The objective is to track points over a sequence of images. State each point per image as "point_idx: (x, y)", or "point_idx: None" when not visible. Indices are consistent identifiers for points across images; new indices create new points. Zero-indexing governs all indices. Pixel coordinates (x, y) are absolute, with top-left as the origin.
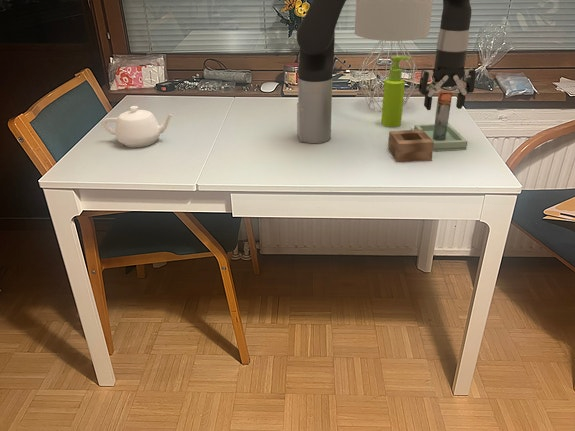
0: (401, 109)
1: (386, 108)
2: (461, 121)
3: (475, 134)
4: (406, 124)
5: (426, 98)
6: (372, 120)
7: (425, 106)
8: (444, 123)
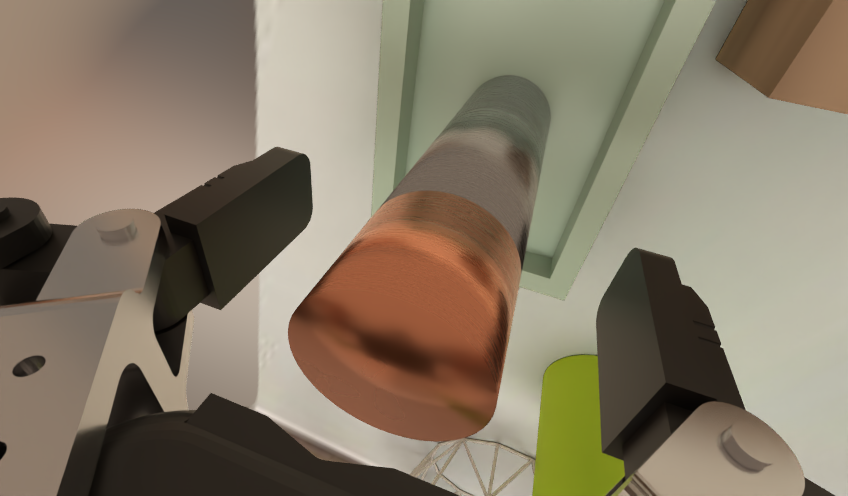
0: (565, 432)
1: None
2: (287, 272)
3: (272, 125)
4: (527, 351)
5: (743, 404)
6: None
7: (697, 309)
8: (490, 113)
